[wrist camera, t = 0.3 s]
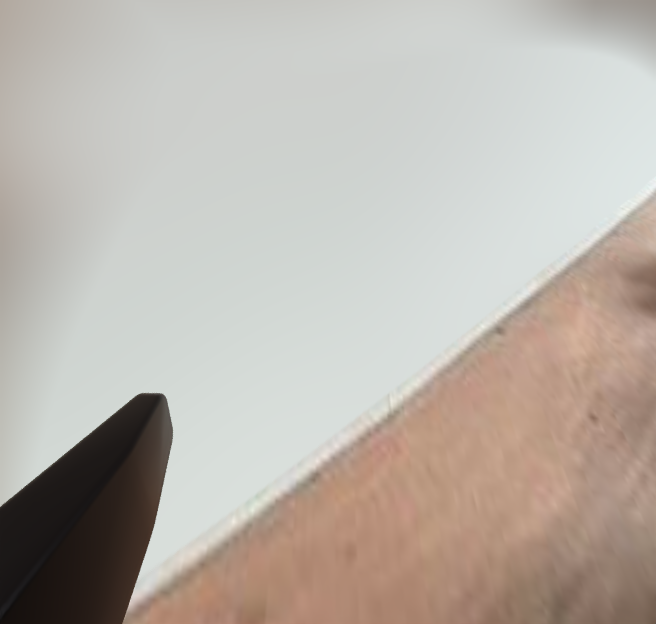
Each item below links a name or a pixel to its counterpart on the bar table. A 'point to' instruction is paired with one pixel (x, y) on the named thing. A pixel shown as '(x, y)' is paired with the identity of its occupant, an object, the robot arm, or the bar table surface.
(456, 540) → the bar table surface
